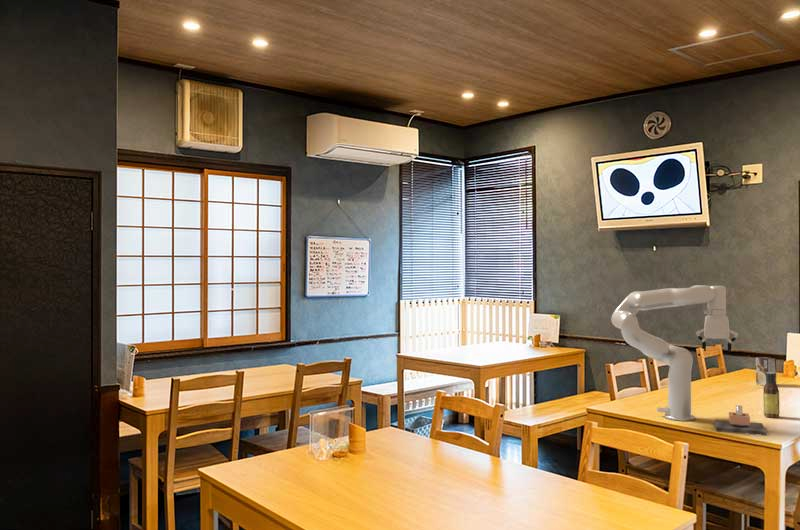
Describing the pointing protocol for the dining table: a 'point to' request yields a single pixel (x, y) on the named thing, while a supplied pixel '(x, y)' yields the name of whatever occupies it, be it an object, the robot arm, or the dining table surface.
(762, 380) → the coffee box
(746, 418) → the square ring block
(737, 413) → the metal post
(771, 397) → the sauce bottle
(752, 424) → the base plate
